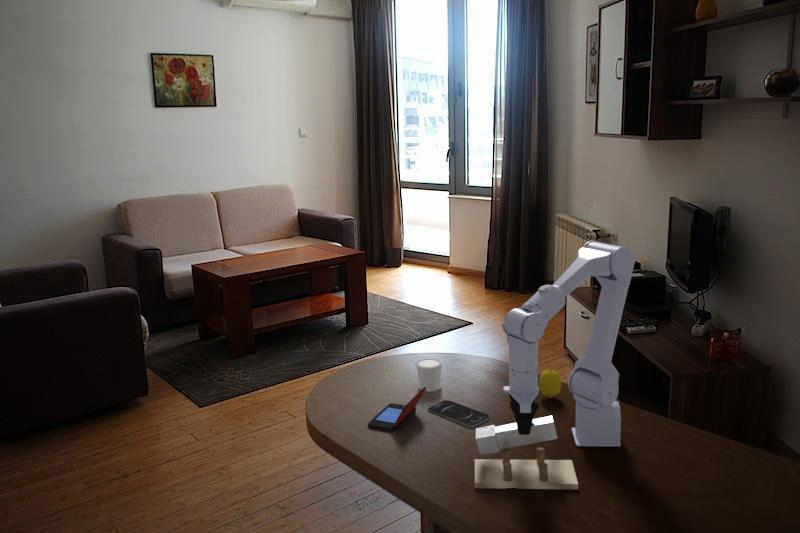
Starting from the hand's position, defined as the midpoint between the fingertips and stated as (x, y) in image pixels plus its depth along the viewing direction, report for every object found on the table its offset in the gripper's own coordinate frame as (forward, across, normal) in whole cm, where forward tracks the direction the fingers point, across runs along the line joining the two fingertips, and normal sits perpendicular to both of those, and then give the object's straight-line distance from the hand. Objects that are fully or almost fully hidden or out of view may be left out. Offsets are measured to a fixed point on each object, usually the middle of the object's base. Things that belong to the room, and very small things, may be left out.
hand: (523, 429), depth 139 cm
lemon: (+9, -34, +8) cm, 36 cm away
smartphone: (+9, -24, -14) cm, 30 cm away
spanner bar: (+3, 0, -1) cm, 3 cm away
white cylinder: (+9, -40, -23) cm, 47 cm away
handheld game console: (+9, -21, -29) cm, 37 cm away
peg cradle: (+8, +4, 0) cm, 9 cm away
